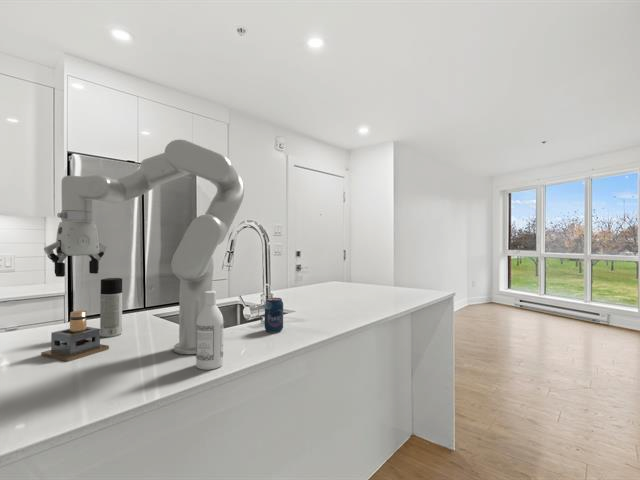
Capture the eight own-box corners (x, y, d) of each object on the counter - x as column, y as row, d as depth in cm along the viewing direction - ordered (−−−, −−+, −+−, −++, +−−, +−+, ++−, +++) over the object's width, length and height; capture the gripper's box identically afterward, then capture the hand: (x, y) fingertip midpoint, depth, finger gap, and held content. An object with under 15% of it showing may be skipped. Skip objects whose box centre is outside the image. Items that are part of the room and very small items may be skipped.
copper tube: (88, 347, 103) (90, 311, 103) (75, 351, 99) (76, 314, 99) (79, 345, 105) (80, 310, 105) (65, 349, 101) (66, 312, 101)
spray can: (126, 332, 124) (126, 277, 124) (113, 338, 117) (113, 279, 117) (109, 332, 124) (109, 277, 124) (95, 337, 118) (95, 279, 118)
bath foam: (213, 359, 97) (214, 289, 97) (228, 365, 92) (228, 291, 92) (191, 366, 91) (191, 291, 91) (205, 372, 87) (205, 294, 87)
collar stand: (108, 349, 105) (109, 328, 105) (67, 361, 94) (67, 338, 94) (83, 344, 110) (83, 324, 110) (41, 355, 99) (41, 333, 99)
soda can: (268, 334, 123) (268, 301, 123) (261, 329, 129) (262, 298, 129) (286, 331, 126) (286, 299, 127) (278, 327, 132) (278, 296, 132)
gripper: (53, 215, 93) (53, 278, 92) (113, 219, 109) (113, 272, 109) (36, 216, 95) (37, 277, 95) (97, 219, 111) (97, 272, 111)
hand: (77, 274), depth 102 cm, fingers open, 9 cm apart
